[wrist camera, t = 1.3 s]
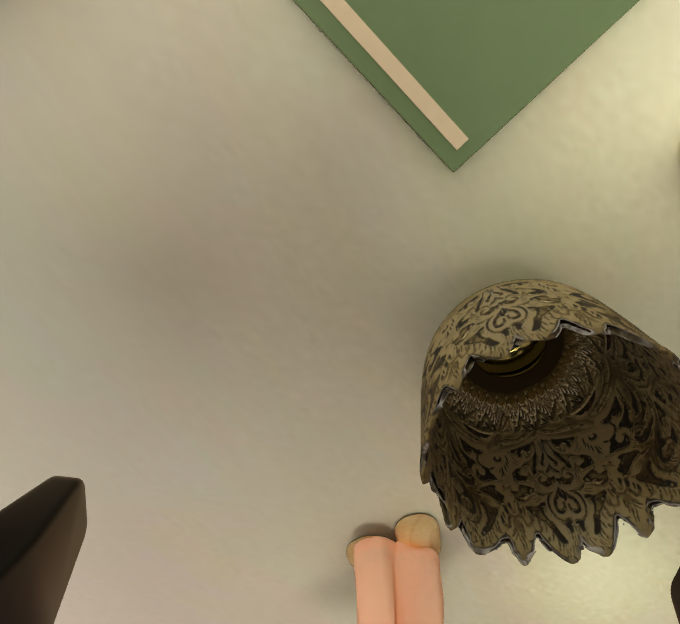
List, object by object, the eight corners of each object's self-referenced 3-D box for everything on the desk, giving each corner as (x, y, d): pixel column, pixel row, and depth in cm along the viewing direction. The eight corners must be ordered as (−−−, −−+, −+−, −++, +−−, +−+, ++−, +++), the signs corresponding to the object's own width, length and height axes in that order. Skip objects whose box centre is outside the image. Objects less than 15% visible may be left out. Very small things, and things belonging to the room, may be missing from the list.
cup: (369, 269, 22) (381, 393, 15) (575, 195, 21) (697, 291, 14) (433, 429, 25) (469, 596, 18) (616, 372, 24) (734, 528, 17)
